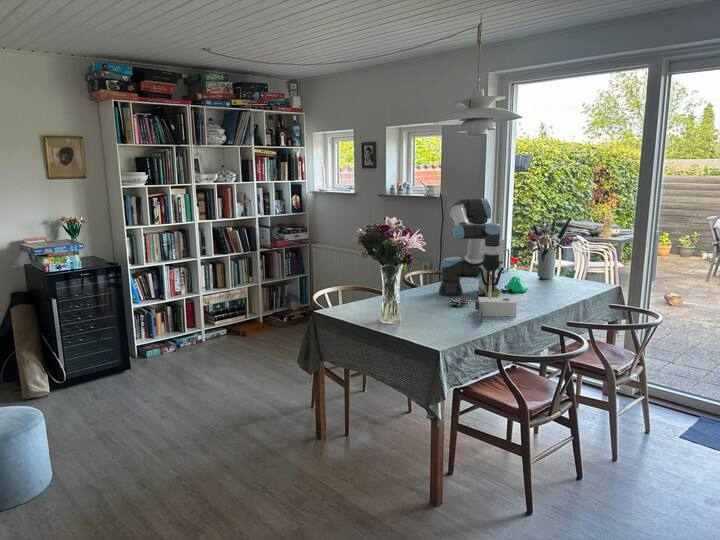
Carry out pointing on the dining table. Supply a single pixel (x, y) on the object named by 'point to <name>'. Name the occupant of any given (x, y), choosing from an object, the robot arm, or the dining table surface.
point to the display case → (481, 285)
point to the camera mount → (516, 285)
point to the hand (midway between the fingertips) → (489, 297)
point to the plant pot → (493, 293)
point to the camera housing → (497, 306)
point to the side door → (480, 313)
